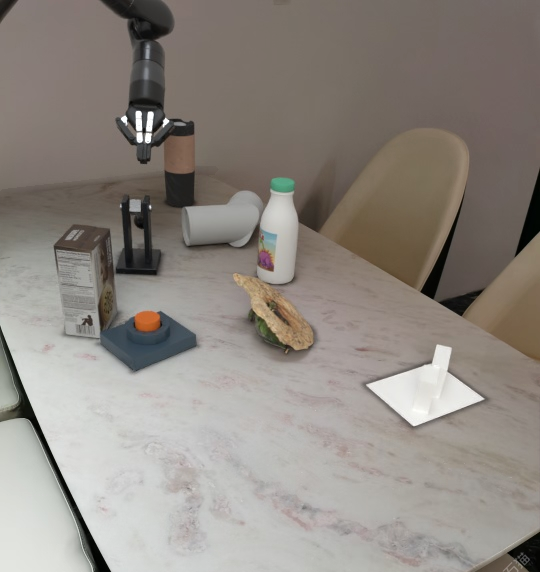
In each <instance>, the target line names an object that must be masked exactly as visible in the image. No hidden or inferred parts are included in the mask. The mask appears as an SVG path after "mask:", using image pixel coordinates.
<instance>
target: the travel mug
mask: <svg viewBox="0 0 540 572" xmlns="http://www.w3.org/2000/svg"><path fill="white" fill-rule="evenodd" d="M168 120H169V121H173V122H174V127H175V130H174V132H173V133H172V134H171V135H170V136H169V137H168V138H167V139H166V140H165V141H164V142H163V164H164V165H163V169H164V170H163V171H164V172H163V173H164V186H165V202H166V204H167V205H168V206H171V207H175V208H183V207H190V206H194V202H195V179H196V177H195V176H196V149H195V147H196V145H195V143H196V142H195V141H196V140H195V122H194V121H193V120H189V121H184V120H183V119H182V118H168Z"/></svg>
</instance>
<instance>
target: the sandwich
mask: <svg viewBox="0 0 540 572" xmlns="http://www.w3.org/2000/svg"><path fill="white" fill-rule="evenodd" d="M232 276H233V279H234V281H235V283H236V284H237V286H239V287H241V288H242V289H244V290H245V292H246V293H247V294H248V295H249V297H250V307H251V308H250V310H249V311H248V316H247V317H248V320H249V321H250V322H252V321H253V317H254V327H255V330H256V332H257V335H258V336H259V337H260V338H262V339H263V340H264V342H266V343H267V344H270V345H272V346H275V347H278V348H280V349H282V350H284V352H283V353H284V354H287V353H288V352H289V351H290V349H289V348H287V345H288V346H290V347H292V348H293V349H294V351H300V350H308V349H309V347H310V346H313V343H314V333H313V329H312V328H311V326H310V324H309V323H308V322H307V320H306V319H305V318H304V317H303V315H302V314H301V313H300V312H299V311H298V309H297V308H296V307H295V305H294V304H293V303H292V302H291V301H289V300H288V299H287V298H286V297H285V296H284V295H283V294H281V293H280V292H279V291H278V290H276V289H275V288H274V287H272V286H271V285H270V283H267V282H264V281H262V280H261V279H259V278H258V277H256V276H255V277H254V276H252V275H244V274H240V273H237V272H234V273H233V275H232Z"/></svg>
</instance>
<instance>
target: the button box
mask: <svg viewBox="0 0 540 572" xmlns="http://www.w3.org/2000/svg"><path fill="white" fill-rule="evenodd" d="M155 312H156V311H155ZM156 313H158V314H159V315H160V328H159V329H157V330H154V331H146V332H144V331H140V330H137V329H136V328H135V315H134V316H131V317H130V318H129V319H128V320H126V321H125V323H122V324H120V325H116V326H114V327H111V328H108V329H107V330H105V331H102V332H100V338H99V340H100V344H101V346H103V347H104V348H105V349H107V350H108V351H109V352H110V353H112V355H114V356H115V357H117V359H119V360H120V361H121V362H123V363H124V364H125V365H126V366H127V367H128V368H130V369H131V370H132V371H133V372H136V371H139V370H141V369H143V368H145V367H149V366H151V365H153V364H155V363H158V362H161V361H163V360H165V359H168V358H171V357H172V356H175V355H177V354H180V353H182V352H185V351H187V350H189V349H191V348H194V347H196V346H197V334H196V333H195V332H193V331H191V330H190V329H188V328H187V327H185V326H184V325H183V324H181V323H180V322H179V321H176V319H173V317H171V316H170V315H168V314H167V313H165V312H163V311H162V310H159V311H157V312H156Z"/></svg>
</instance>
